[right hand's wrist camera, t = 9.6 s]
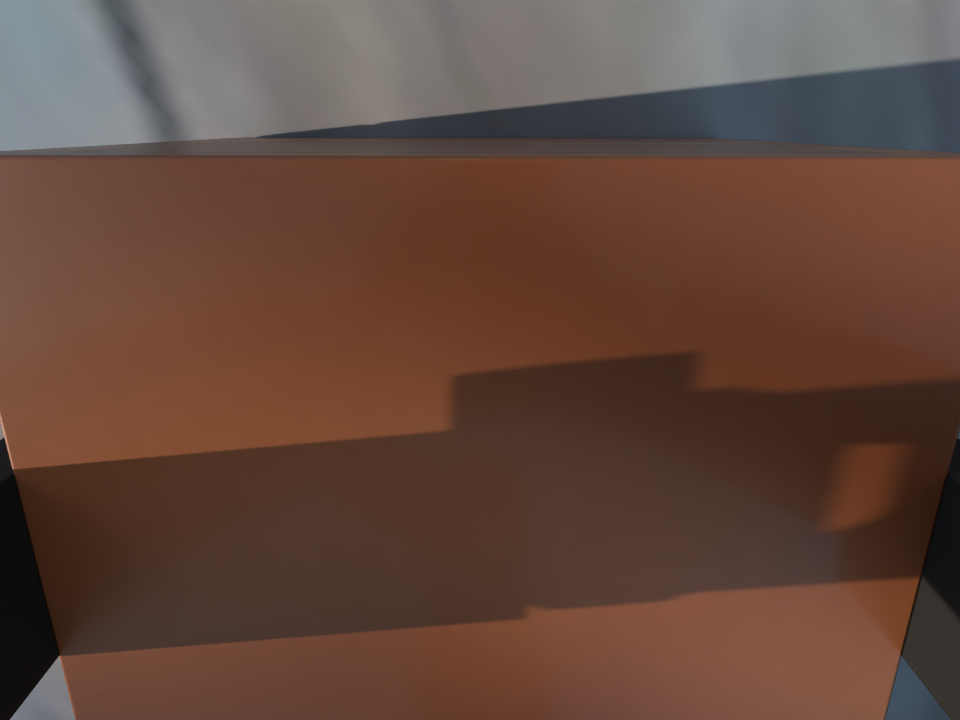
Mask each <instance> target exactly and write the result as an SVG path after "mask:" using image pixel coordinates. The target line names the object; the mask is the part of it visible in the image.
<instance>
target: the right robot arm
mask: <svg viewBox="0 0 960 720" xmlns="http://www.w3.org/2000/svg"><path fill="white" fill-rule="evenodd" d="M58 656H59V652H58V648H57V644H56V640H55V636H54V632H53V628H52V624H51V620H50V616H49V612H48V608H47V604H46V600H45V596H44V593H43V589H42V585H41V581H40V577H39V573H38V569H37V565H36V561H35V557H34V553H33V549H32V545H31V541H30V537H29V533H28V529H27V525H26V521H25V517H24V513H23V509H22V505H21V501H20V497H19V493H18V489H17V485H16V481H15V477H14V473H13V469H12V465H11V461H10V457H9V453H8V450H7V446H6V442H5V438H3V439H1V440H0V720H10V719H11V717H12V716H13V715H14V713H15V712H16V711H17V709H18V708H19V707H20V706H21V704H22V703H23V702H24V700H25V699H26V698H27V697H28V695H29V694H30V693H31V691H32V690H33V689H34V687H35V686H36V685H37V684H38V682H39V681H40V680H41V678H42V677H43V676H44V675H45V673H46V672H47V671H48V669H49V668H50V667H51V665H52V664H53V663H54V662H55V660H56V659H57V658H58ZM902 657H903V658H904V659H905V661H906V662H907V663H908V664H909V666H910V667H911V668H912V670H913V671H914V672H915V674H916V675H917V676H918V677H919V679H920V680H921V681H922V683H923V684H924V685H925V686H926V688H927V689H928V690H929V692H930V693H931V694H932V696H933V697H934V698H935V699H936V701H937V702H938V703H939V705H940V706H941V707H942V708H943V710H944V711H945V712H946V714H947V715H948V716H949V718H950V719H951V720H960V440H959V439H958V438H957V440H956V444H955V448H954V452H953V456H952V460H951V463H950V467H949V471H948V475H947V479H946V483H945V487H944V491H943V495H942V499H941V502H940V506H939V510H938V514H937V518H936V522H935V526H934V530H933V534H932V538H931V542H930V545H929V549H928V553H927V557H926V561H925V565H924V569H923V573H922V577H921V581H920V584H919V588H918V592H917V596H916V600H915V604H914V608H913V612H912V616H911V620H910V623H909V627H908V631H907V635H906V639H905V643H904V647H903V651H902Z"/></svg>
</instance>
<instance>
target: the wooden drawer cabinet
mask: <svg viewBox="0 0 960 720" xmlns="http://www.w3.org/2000/svg"><path fill="white" fill-rule="evenodd" d="M0 422H1V426H2V430H3V434H4V438H5V442H6V446H7V450H8V453H9V457H10V461H11V465H12V469H13V473H14V477H15V481H16V485H17V489H18V493H19V497H20V501H21V505H22V509H23V513H24V517H25V521H26V525H27V529H28V533H29V537H30V541H31V545H32V549H33V553H34V557H35V561H36V565H37V569H38V573H39V577H40V581H41V585H42V589H43V593H44V596H45V600H46V604H47V608H48V612H49V616H50V620H51V624H52V628H53V632H54V636H55V640H56V644H57V648H58V652H59V656H60V660H61V664H62V668H63V672H64V676H65V680H66V684H67V688H68V692H69V696H70V700H71V704H72V708H73V712H74V716H75V720H885V717H886V713H887V709H888V705H889V702H890V698H891V694H892V690H893V686H894V682H895V678H896V674H897V670H898V666H899V663H900V659H901V655H902V651H903V647H904V643H905V639H906V635H907V631H908V627H909V623H910V620H911V616H912V612H913V608H914V604H915V600H916V596H917V592H918V588H919V584H920V581H921V577H922V573H923V569H924V565H925V561H926V557H927V553H928V549H929V545H930V542H931V538H932V534H933V530H934V526H935V522H936V518H937V514H938V510H939V506H940V502H941V499H942V495H943V491H944V487H945V483H946V479H947V475H948V471H949V467H950V463H951V460H952V456H953V452H954V448H955V444H956V440H957V436H958V432H959V428H960V153H953V152H937V151H920V150H904V149H887V148H870V147H854V146H837V145H821V144H804V143H787V142H771V141H754V140H738V139H719V138H227V139H209V140H192V141H174V142H157V143H139V144H122V145H104V146H87V147H69V148H52V149H34V150H17V151H0Z"/></svg>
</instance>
